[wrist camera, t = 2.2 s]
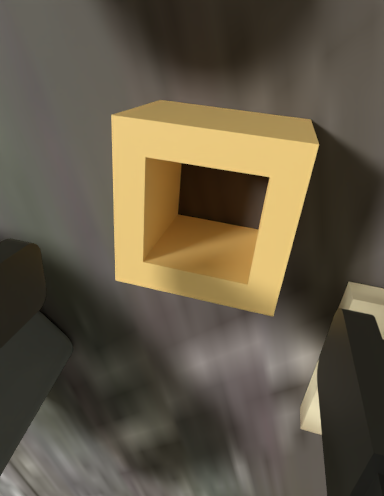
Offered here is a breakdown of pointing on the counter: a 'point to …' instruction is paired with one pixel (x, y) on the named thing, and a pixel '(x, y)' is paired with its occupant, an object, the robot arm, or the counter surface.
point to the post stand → (355, 299)
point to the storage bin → (28, 378)
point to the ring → (200, 230)
